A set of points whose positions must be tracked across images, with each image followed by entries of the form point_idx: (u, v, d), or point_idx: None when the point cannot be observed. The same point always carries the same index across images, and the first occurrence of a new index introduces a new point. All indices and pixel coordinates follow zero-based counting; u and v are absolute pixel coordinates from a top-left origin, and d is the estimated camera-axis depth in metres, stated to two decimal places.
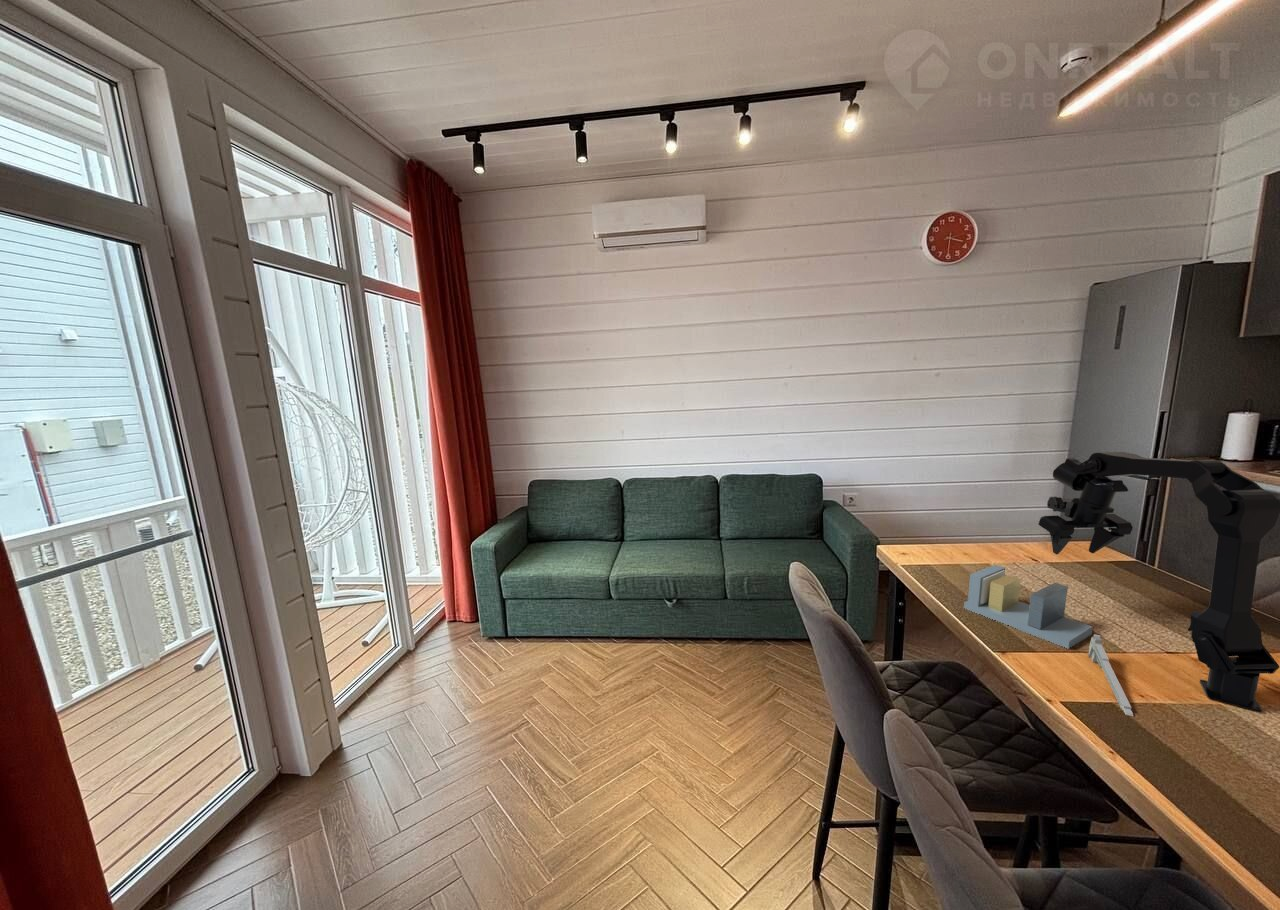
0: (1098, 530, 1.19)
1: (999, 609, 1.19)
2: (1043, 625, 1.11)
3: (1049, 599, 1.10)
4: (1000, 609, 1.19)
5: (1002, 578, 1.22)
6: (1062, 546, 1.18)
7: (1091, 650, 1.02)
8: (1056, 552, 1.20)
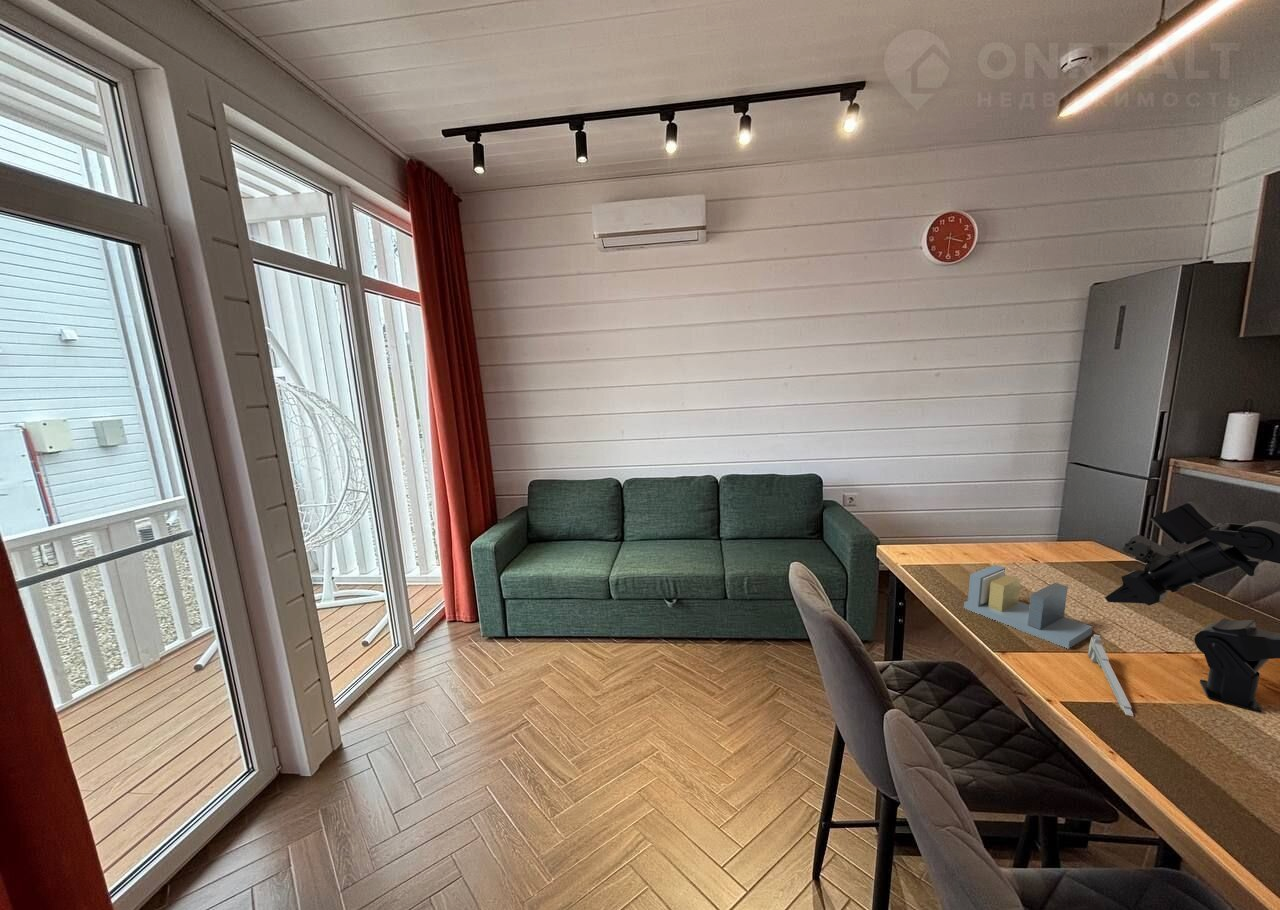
0: (1150, 575, 1.00)
1: (999, 609, 1.19)
2: (1043, 625, 1.11)
3: (1049, 599, 1.10)
4: (1000, 609, 1.19)
5: (1002, 578, 1.22)
6: None
7: (1091, 650, 1.02)
8: (1111, 601, 0.99)
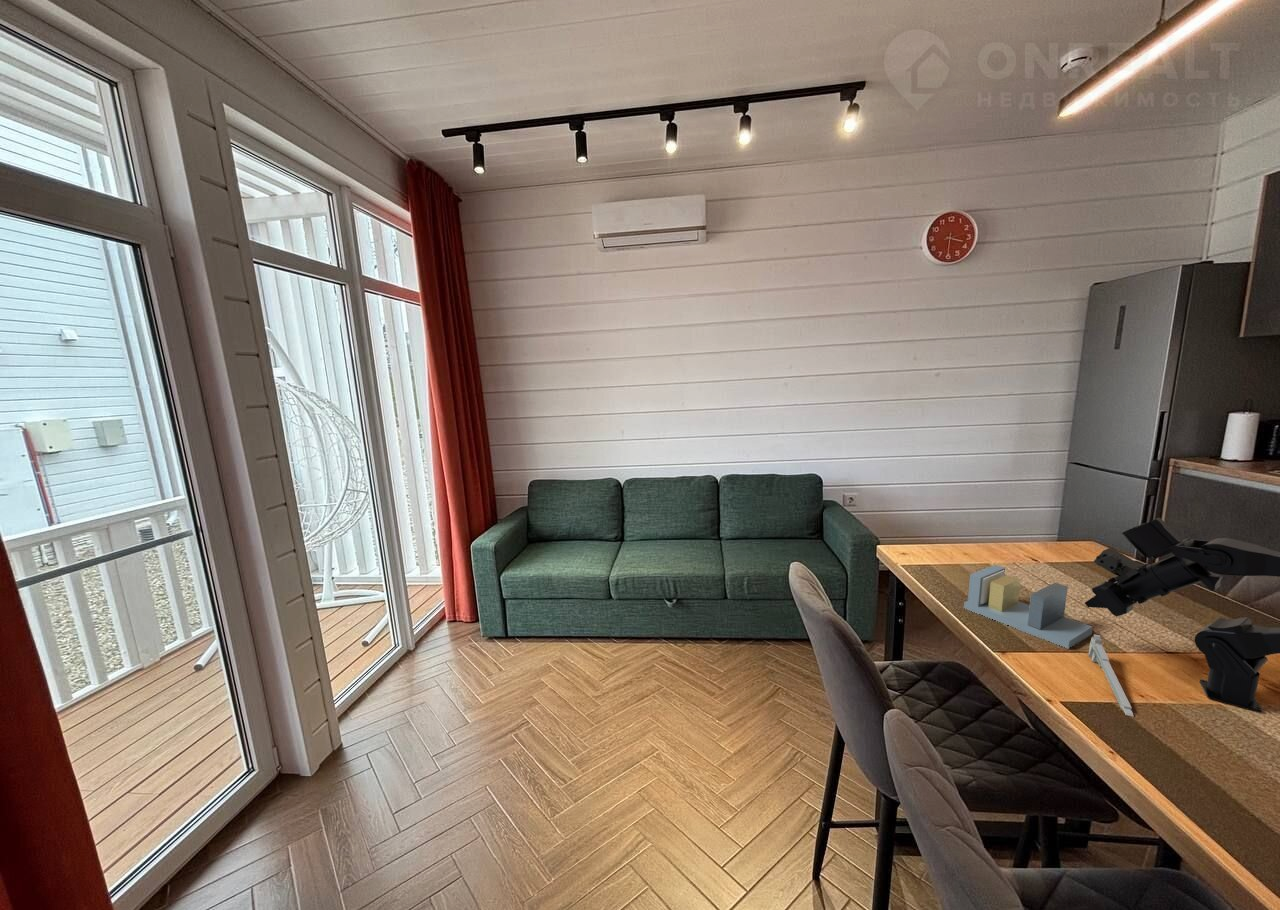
0: None
1: (999, 609, 1.19)
2: (1043, 625, 1.11)
3: (1049, 599, 1.10)
4: (1000, 609, 1.19)
5: (1002, 578, 1.22)
6: None
7: (1091, 650, 1.02)
8: (1090, 606, 1.06)
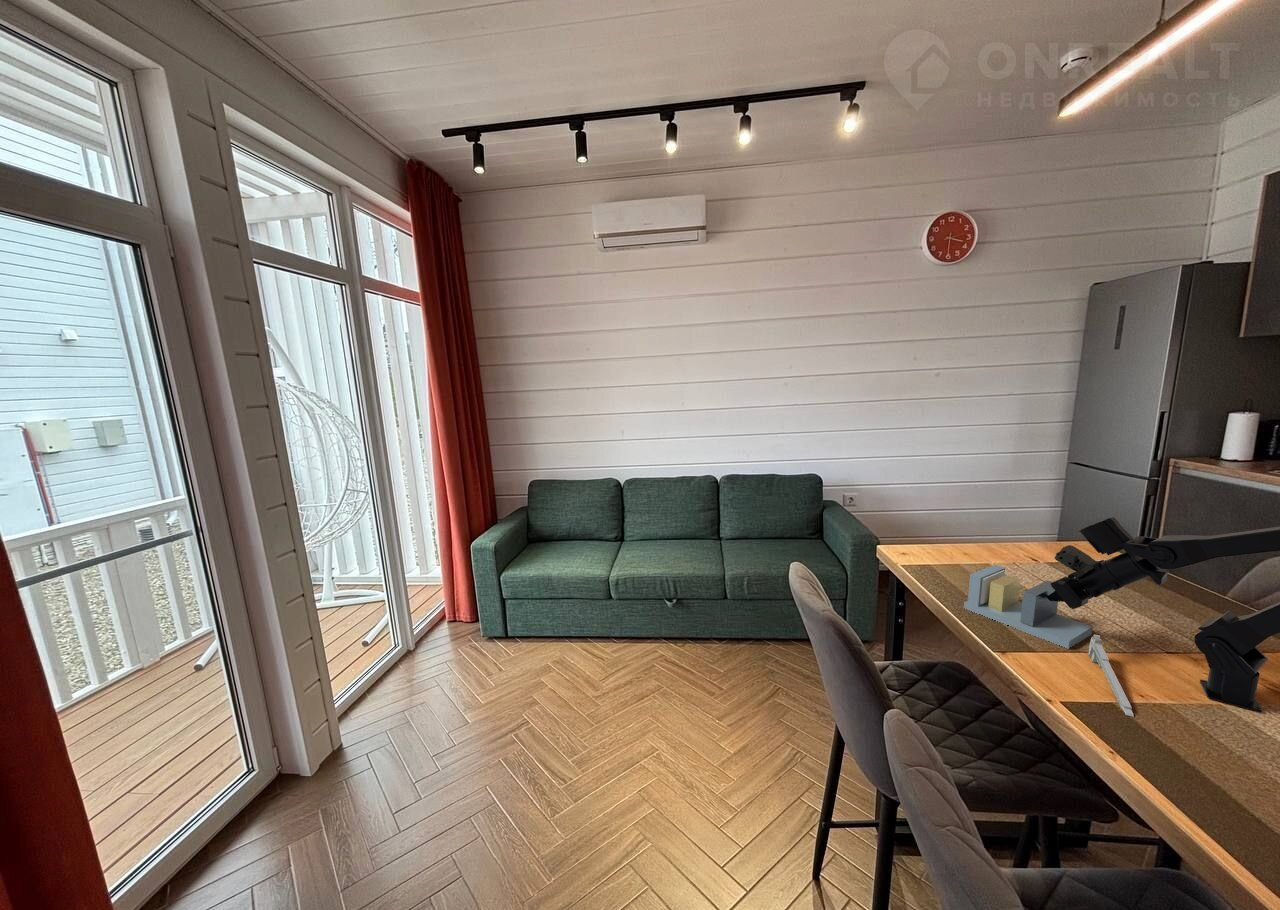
0: None
1: (999, 609, 1.19)
2: (1035, 622, 1.12)
3: (1042, 596, 1.12)
4: (1000, 609, 1.19)
5: (1002, 578, 1.22)
6: None
7: (1091, 650, 1.02)
8: (1052, 600, 1.12)
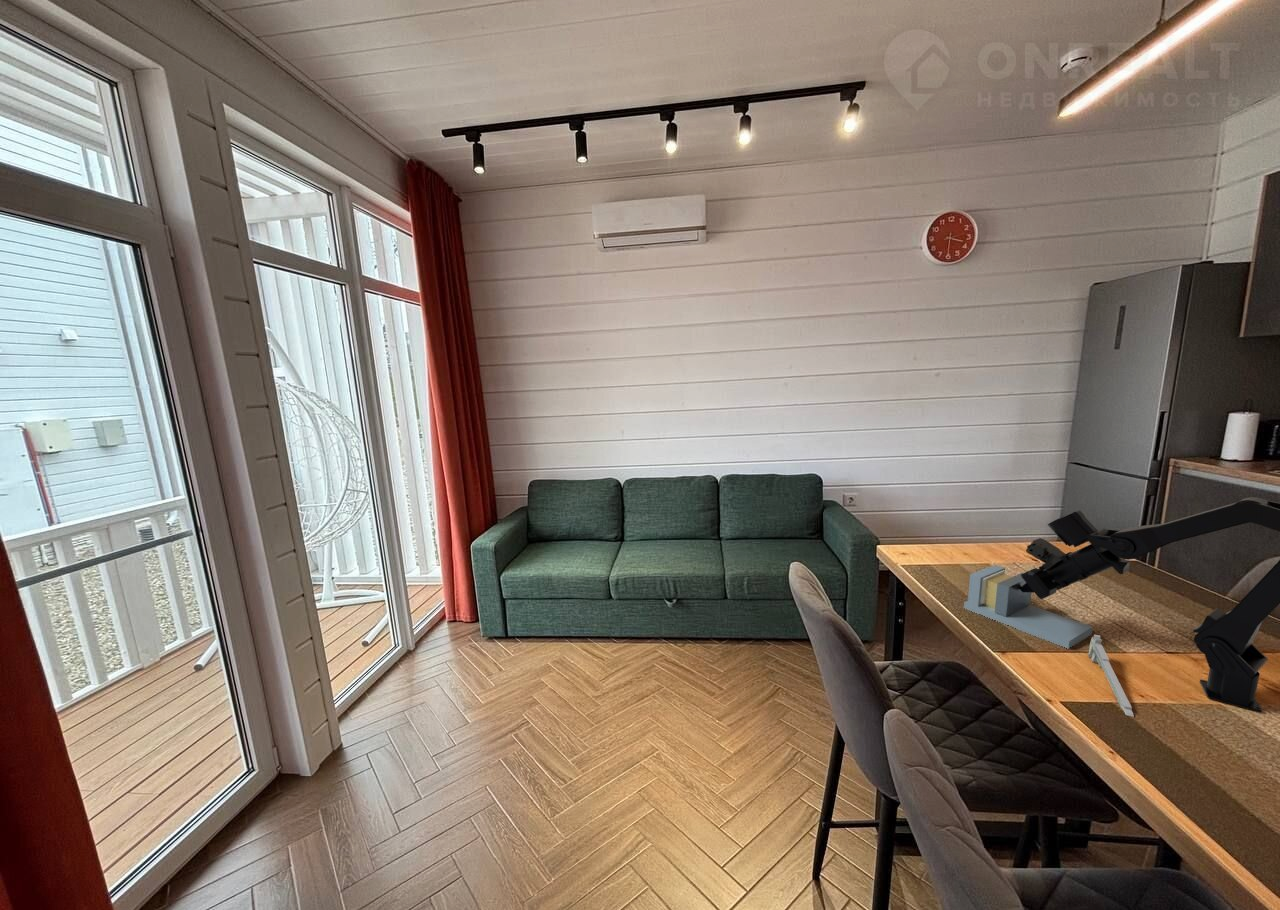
0: None
1: None
2: (1009, 612, 1.17)
3: (1015, 587, 1.17)
4: None
5: (998, 577, 1.23)
6: None
7: (1091, 650, 1.02)
8: (1024, 591, 1.17)
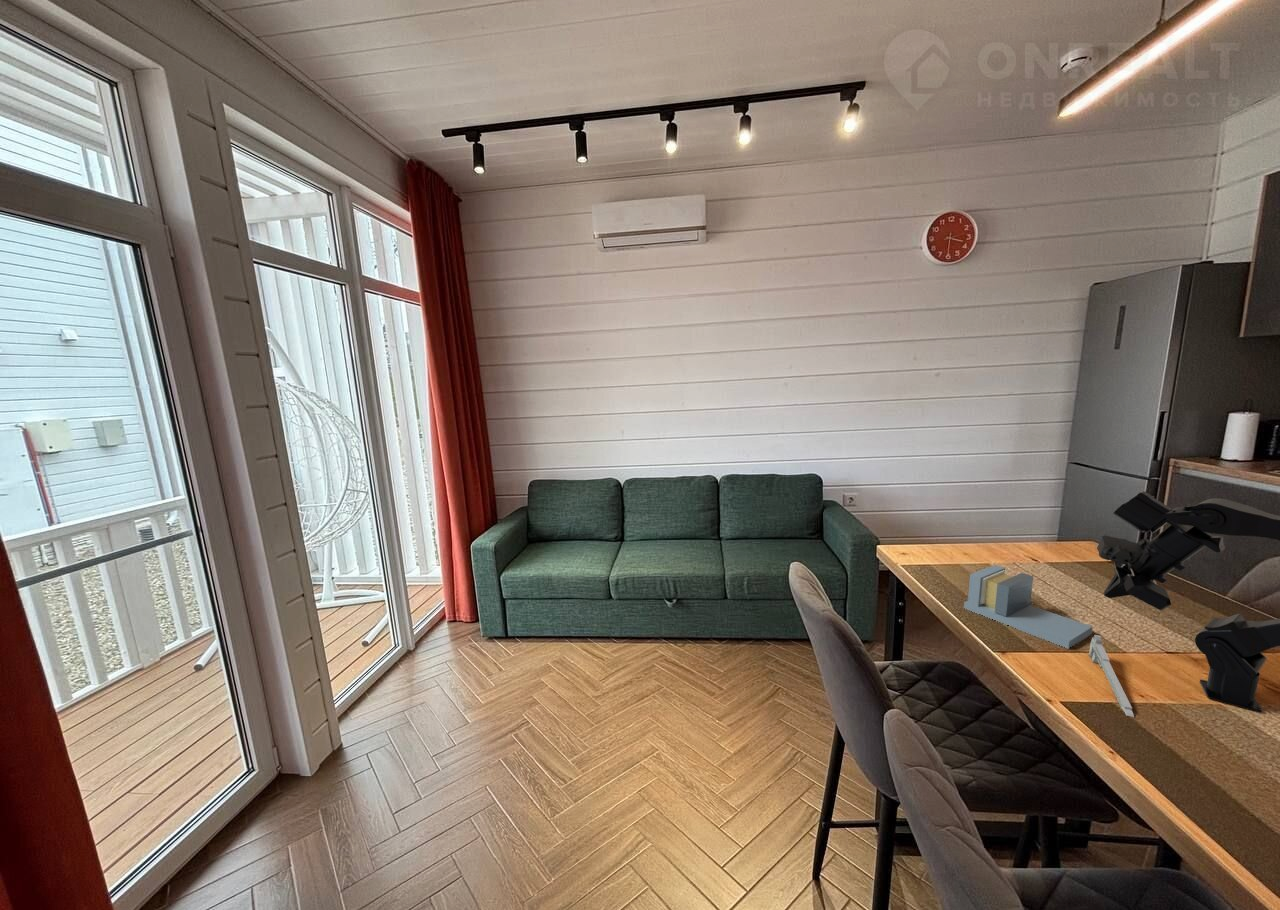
0: None
1: None
2: (1009, 612, 1.17)
3: (1015, 587, 1.17)
4: None
5: (998, 577, 1.23)
6: None
7: (1092, 651, 1.02)
8: (1112, 597, 1.02)
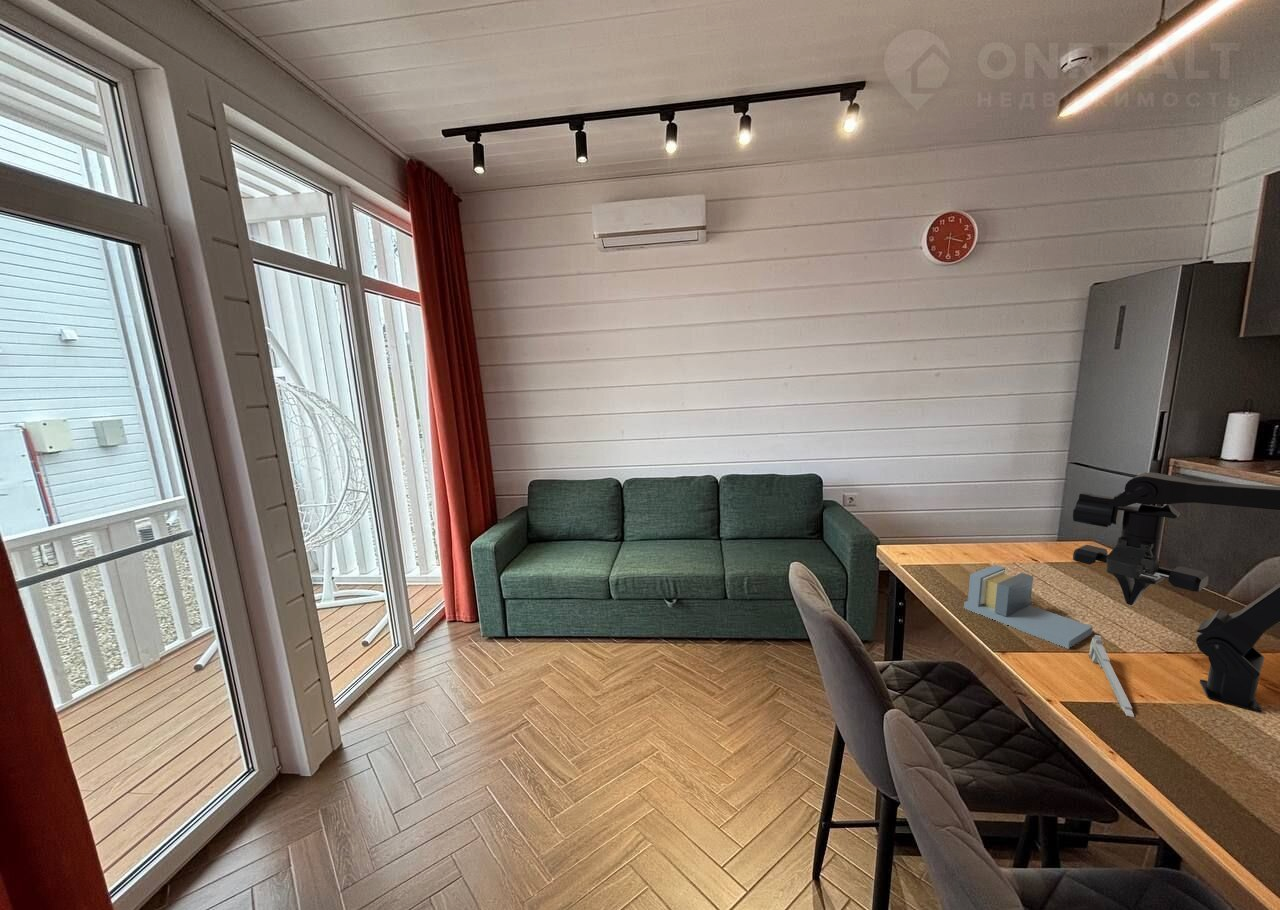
0: (1128, 577, 0.98)
1: None
2: (1009, 612, 1.17)
3: (1015, 587, 1.17)
4: None
5: (998, 577, 1.23)
6: None
7: (1092, 651, 1.02)
8: (1135, 601, 0.99)
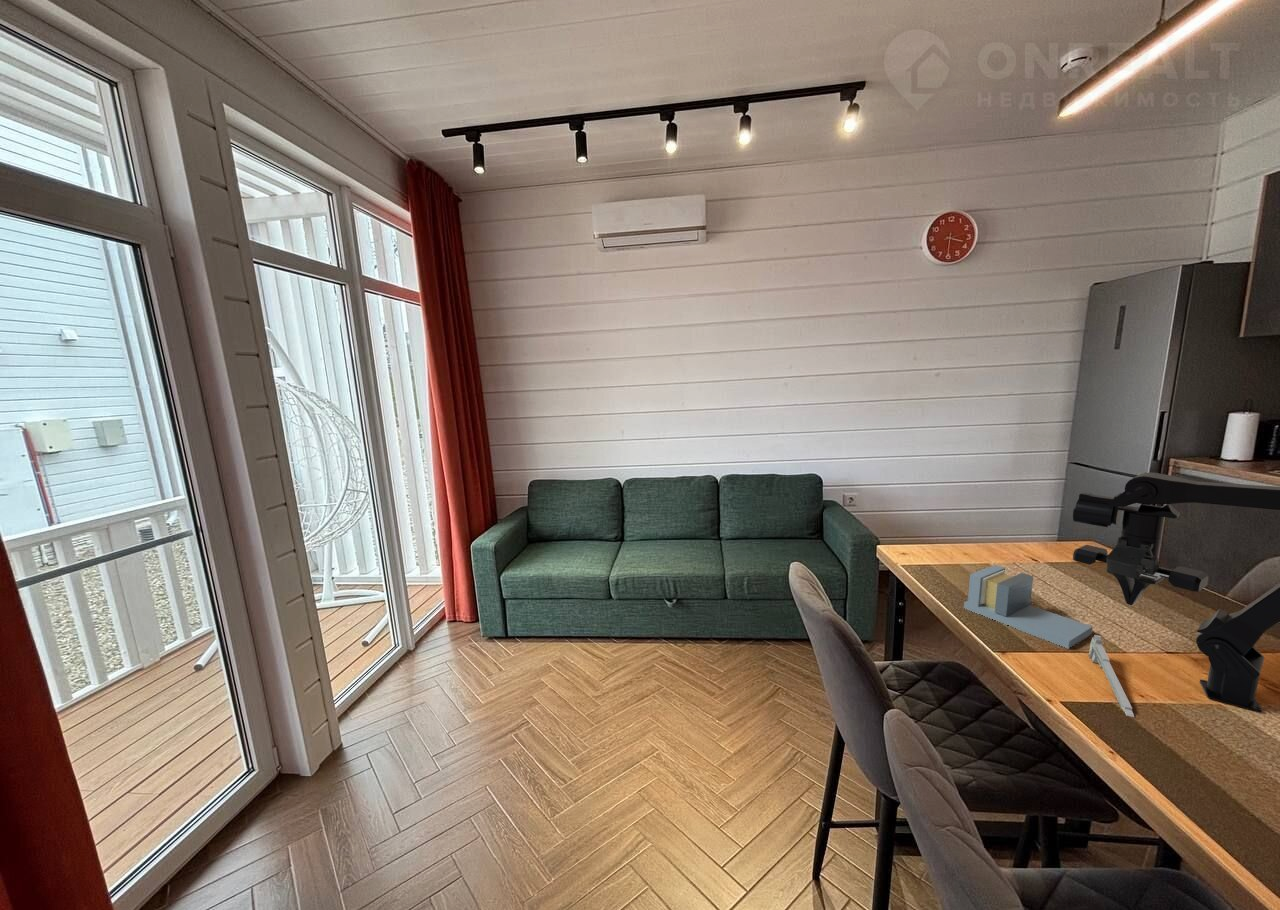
0: (1128, 577, 0.98)
1: None
2: (1009, 612, 1.17)
3: (1015, 587, 1.17)
4: None
5: (998, 577, 1.23)
6: None
7: (1092, 651, 1.02)
8: (1135, 601, 0.99)
